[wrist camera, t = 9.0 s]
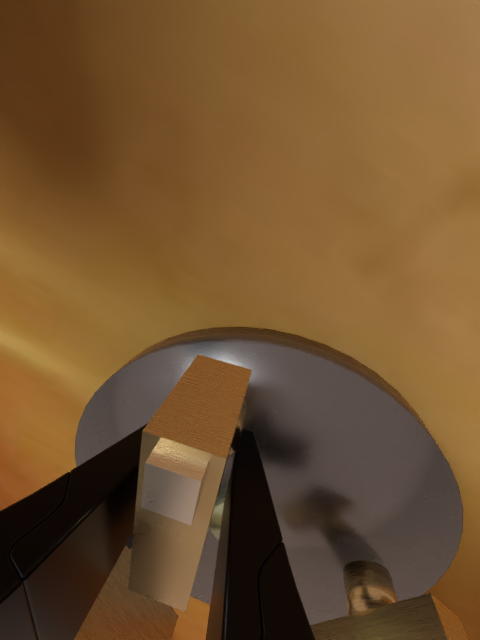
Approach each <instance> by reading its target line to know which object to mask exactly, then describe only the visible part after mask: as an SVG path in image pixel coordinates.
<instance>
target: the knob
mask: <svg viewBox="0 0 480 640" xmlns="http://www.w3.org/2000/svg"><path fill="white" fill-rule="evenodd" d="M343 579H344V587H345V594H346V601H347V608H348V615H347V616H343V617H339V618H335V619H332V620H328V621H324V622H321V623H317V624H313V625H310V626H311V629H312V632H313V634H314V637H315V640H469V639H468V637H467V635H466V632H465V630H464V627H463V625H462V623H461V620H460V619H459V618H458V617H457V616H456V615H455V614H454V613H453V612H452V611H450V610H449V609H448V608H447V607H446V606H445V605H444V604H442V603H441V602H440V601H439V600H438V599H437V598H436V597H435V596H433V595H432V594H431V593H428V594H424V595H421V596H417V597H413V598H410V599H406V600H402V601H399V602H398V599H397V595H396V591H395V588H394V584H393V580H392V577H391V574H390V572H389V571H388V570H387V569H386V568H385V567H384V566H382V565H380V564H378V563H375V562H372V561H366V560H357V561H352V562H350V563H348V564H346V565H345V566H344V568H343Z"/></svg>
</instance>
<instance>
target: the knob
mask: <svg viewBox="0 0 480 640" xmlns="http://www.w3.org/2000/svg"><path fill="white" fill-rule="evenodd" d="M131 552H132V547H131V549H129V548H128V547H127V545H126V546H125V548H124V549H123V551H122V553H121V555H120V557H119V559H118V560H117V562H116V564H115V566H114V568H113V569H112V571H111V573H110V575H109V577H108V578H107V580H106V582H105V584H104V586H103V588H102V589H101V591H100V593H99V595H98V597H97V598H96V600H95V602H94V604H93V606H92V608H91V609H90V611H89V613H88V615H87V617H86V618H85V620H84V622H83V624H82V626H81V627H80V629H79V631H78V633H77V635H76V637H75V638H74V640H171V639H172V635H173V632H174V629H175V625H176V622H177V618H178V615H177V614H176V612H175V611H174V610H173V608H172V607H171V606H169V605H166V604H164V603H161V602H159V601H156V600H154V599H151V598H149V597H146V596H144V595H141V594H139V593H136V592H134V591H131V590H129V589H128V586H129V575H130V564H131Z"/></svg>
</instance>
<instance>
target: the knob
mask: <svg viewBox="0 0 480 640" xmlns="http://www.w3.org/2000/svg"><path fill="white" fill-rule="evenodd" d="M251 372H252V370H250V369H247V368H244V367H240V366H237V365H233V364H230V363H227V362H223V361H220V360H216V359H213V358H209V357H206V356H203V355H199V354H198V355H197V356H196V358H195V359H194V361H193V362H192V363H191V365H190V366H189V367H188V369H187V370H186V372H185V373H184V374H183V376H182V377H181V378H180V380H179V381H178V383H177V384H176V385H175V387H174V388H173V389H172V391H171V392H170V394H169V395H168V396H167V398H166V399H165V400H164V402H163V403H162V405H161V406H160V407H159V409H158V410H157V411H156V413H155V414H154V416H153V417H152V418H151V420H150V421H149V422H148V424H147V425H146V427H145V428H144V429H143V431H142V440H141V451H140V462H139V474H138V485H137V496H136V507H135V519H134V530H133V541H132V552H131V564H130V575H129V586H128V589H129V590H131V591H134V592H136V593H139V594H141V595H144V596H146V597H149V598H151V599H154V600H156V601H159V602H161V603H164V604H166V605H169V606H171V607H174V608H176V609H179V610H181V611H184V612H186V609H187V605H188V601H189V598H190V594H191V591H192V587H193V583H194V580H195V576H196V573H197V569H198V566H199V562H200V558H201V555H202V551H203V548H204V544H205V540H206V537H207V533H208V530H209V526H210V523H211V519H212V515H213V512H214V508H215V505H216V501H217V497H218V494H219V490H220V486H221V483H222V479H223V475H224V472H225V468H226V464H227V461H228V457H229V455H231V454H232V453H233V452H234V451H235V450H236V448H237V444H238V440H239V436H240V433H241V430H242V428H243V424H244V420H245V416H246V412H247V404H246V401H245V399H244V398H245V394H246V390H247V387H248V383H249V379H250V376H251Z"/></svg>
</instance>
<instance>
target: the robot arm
mask: <svg viewBox="0 0 480 640" xmlns="http://www.w3.org/2000/svg"><path fill="white" fill-rule="evenodd" d="M147 424H148V423H147ZM147 424H145V425H144V426H142V427H141V428H139V429H137V430H136V431H134V432H133V433H131V434H129V435H128V436H126V437H124V438H123V439H121V440H120V441H118V442H116V443H115V444H113V445H111V446H110V447H108V448H107V449H105V450H103V451H102V452H100V453H98V454H97V455H95V456H94V457H92V458H90V459H89V460H87V461H86V462H84V463H82V464H81V465H79V466H77V467H76V468H74V469H73V470H71V473H70V472H67V473H66V474H64V475H63V476H61V477H59V478H58V479H56V480H55V481H53V482H51V483H49V484H48V485H46V486H44V487H43V488H41V489H39V490H38V491H36V492H34V493H33V494H31V495H29V496H27V497H25V498H23V499H22V500H20V501H18V502H16V503H14V504H12V505H11V506H9V507H7V508H5V509H3V510H1V511H0V640H74V638H75V637H76V635H77V633H78V631H79V629H80V627H81V626H82V624H83V622H84V620H85V618H86V617H87V615H88V613H89V611H90V609H91V608H92V606H93V604H94V602H95V600H96V598H97V597H98V595H99V593H100V591H101V589H102V588H103V586H104V584H105V582H106V580H107V578H108V577H109V575H110V573H111V571H112V569H113V568H114V566H115V564H116V562H117V560H118V559H119V557H120V555H121V553H122V551H123V549H124V548H125V546H126V544H127V542H128V540H129V539H130V537H131V535H132V533H133V530H134V519H135V507H136V496H137V485H138V474H139V462H140V451H141V440H142V431H143V429H144V428H145V427H146V425H147ZM282 541H283V538H282V534H281V530H280V526H279V523H278V519H277V515H276V512H275V508H274V504H273V500H272V497H271V493H270V489H269V486H268V482H267V478H266V474H265V471H264V467H263V463H262V460H261V456H260V452H259V448H258V445H257V441H256V437H255V434H254V432H253V431H251V430H247V429H244V428H243V429H242V430H241V433H240V436H239V440H238V444H237V448H236V452H235V456H234V460H233V465H232V469H231V474H230V478H229V483H228V487H227V492H226V496H225V501H224V507H223V514H222V521H221V529H220V536H219V544H218V551H217V559H216V566H215V574H214V581H213V589H212V596H211V604H210V611H209V619H208V626H207V634H206V640H315V637H314V634H313V632H312V629H311V626H310V623H309V621H308V618H307V615H306V612H305V609H304V607H303V604H302V601H301V598H300V595H299V592H298V589H297V586H296V583H295V580H294V576H293V573H292V569H291V566H290V563H289V559H288V556H287V552H286V548H285V544H284V543H283V542H282Z"/></svg>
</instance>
